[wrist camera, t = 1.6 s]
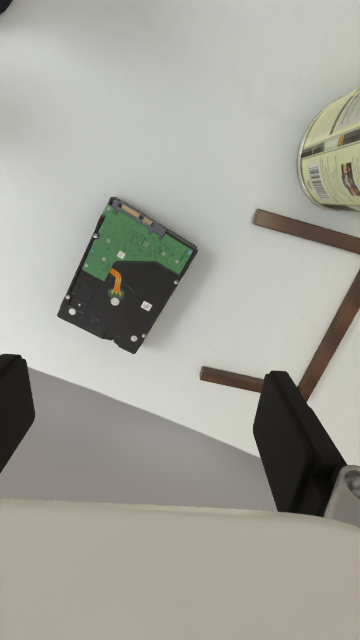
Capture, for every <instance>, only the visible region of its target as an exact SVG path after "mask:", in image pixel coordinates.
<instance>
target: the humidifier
mask: <svg viewBox="0 0 360 640" xmlns="http://www.w3.org/2000/svg"><path fill="white" fill-rule="evenodd" d="M11 1H12V0H0V14H1V13H2V12H4V11H5V10H6V8H7V7H8V6H9V4H10V3H11Z"/></svg>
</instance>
